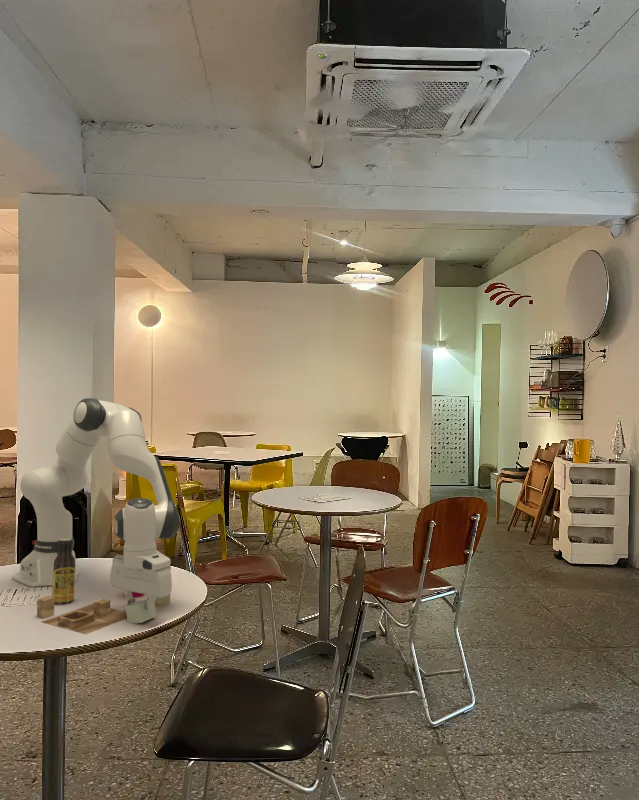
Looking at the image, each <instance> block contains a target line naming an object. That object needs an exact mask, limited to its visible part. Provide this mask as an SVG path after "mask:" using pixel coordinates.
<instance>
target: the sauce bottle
mask: <svg viewBox="0 0 639 800" xmlns="http://www.w3.org/2000/svg"><path fill="white" fill-rule="evenodd" d="M72 543H73V539H72V538H61V539H59V540H58V545H59V551H58V555H57V557H56V559H55V560H54V570H53V585H51V586H52V588H51V589H52V593H51V594H52V595H51V597H53V598H54V606H65V605H68V604H69V605H70V604H72V603H73V602H74V599H75V587H76V586H75V583H76V580H75V559H76V558H75V559H74V557H73V555H72Z"/></svg>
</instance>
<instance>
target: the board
mask: <svg viewBox="0 0 639 800" xmlns="http://www.w3.org/2000/svg"><path fill="white" fill-rule="evenodd" d="M126 619H127V614H126V610H125V611H124V610H121V609H120V610H119V609H115V608H112V607H111V600H109V599H105V598H101V599H98V600H94V601H93V603H91V604H88V605H85V606H82V607H80V608H76V609H73V610H71V611H67V612H66V613H62V614H59V615H57V616H54V617H53V616H52V617H51V618H50V617H49V618H48V619H47V618H46V619H45V620H42V621H41V623H43V624H46V625H50V626H53V627H57V628H60V629H65V630H68V631H71V632H76V633H79V634H83V635H88V634H91V633H93V632H95V631H98V630H102V629H103V628H106V627H108V626H111V625H113V624H116V623H118V622H120V621H124V620H126Z"/></svg>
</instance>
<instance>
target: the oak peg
mask: <svg viewBox="0 0 639 800" xmlns="http://www.w3.org/2000/svg"><path fill="white" fill-rule="evenodd" d="M53 616H54V617H55V605H54V598H53V597H52V596H49V595H45V596H42V597H39V598H37V599H36V617H38V618H41V619H45V620H46V619H47V618H48V619H49V618H50V617H51V618H52V617H53Z"/></svg>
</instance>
